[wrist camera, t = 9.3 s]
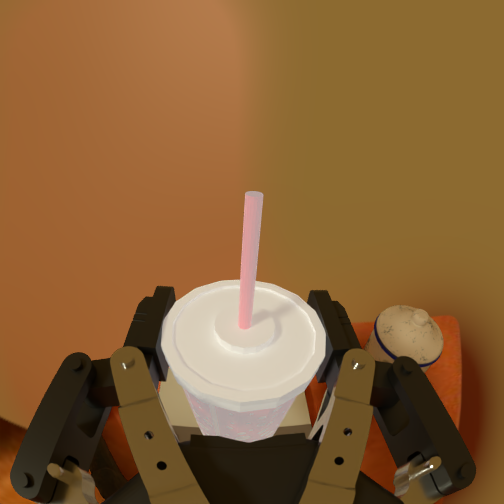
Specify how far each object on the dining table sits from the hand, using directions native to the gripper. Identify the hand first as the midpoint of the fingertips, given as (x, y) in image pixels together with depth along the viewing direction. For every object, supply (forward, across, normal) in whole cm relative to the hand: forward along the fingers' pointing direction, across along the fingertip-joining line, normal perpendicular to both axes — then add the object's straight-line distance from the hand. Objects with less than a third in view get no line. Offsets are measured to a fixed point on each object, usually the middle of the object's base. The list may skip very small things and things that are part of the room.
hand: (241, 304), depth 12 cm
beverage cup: (-2, 0, +8) cm, 9 cm away
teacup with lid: (+6, -18, +20) cm, 27 cm away
